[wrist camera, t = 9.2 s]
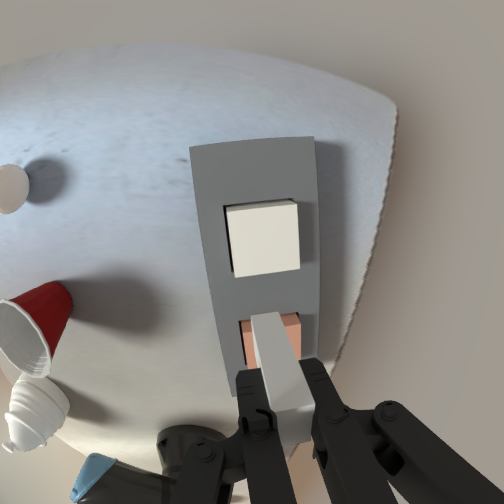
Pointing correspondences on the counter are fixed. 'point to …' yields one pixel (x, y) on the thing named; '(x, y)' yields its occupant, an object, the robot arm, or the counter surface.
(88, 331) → the counter surface
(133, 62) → the counter surface
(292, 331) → the terracotta key
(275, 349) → the robot arm
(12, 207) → the egg
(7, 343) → the plastic cup
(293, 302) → the key console
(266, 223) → the offwhite key
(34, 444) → the honey pot
